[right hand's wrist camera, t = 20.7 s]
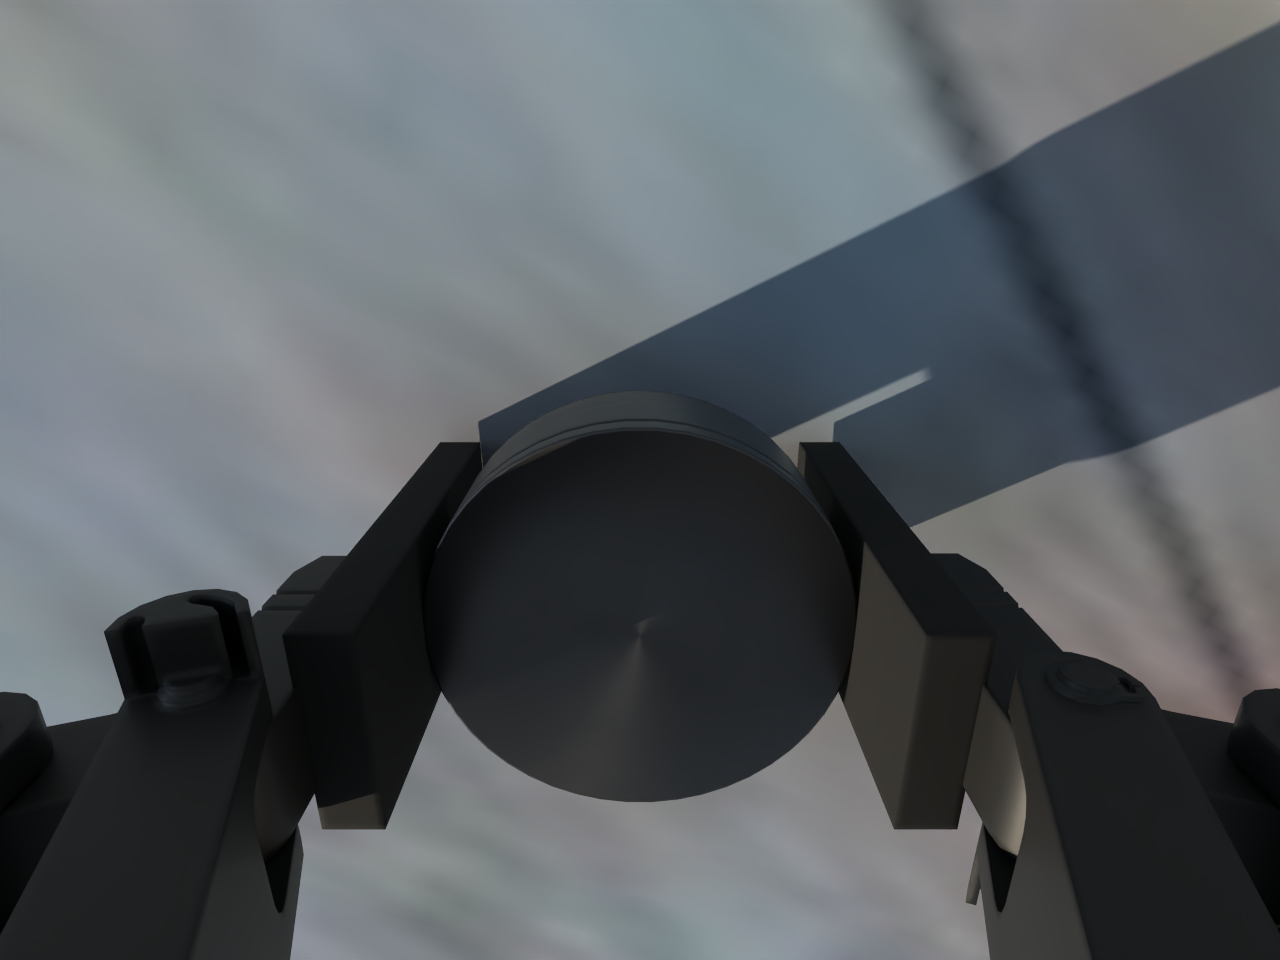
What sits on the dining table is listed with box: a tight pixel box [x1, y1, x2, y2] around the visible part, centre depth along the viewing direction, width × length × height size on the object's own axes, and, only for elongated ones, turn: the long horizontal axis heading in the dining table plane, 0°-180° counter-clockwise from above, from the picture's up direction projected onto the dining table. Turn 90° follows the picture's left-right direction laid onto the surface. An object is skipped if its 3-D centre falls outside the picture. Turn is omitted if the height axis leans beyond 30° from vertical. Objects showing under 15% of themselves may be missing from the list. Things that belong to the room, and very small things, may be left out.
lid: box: [423, 391, 857, 802], centre depth 11 cm, size 6×6×2 cm
